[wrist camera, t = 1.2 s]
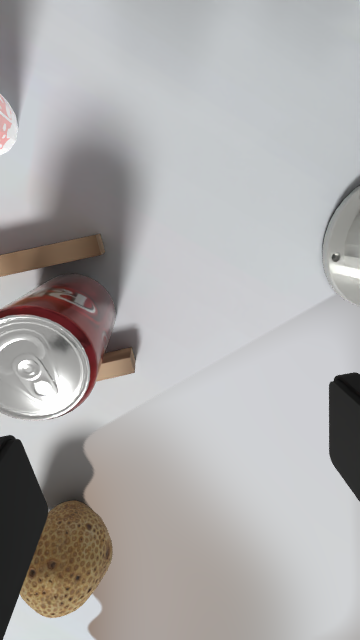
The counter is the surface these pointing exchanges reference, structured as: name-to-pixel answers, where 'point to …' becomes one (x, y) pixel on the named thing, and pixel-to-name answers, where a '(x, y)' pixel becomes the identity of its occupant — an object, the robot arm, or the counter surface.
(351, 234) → the robot arm
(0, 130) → the beverage cup
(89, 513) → the natural sponge
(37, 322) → the soda can
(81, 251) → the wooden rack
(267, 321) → the counter surface
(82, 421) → the counter surface
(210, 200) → the counter surface
